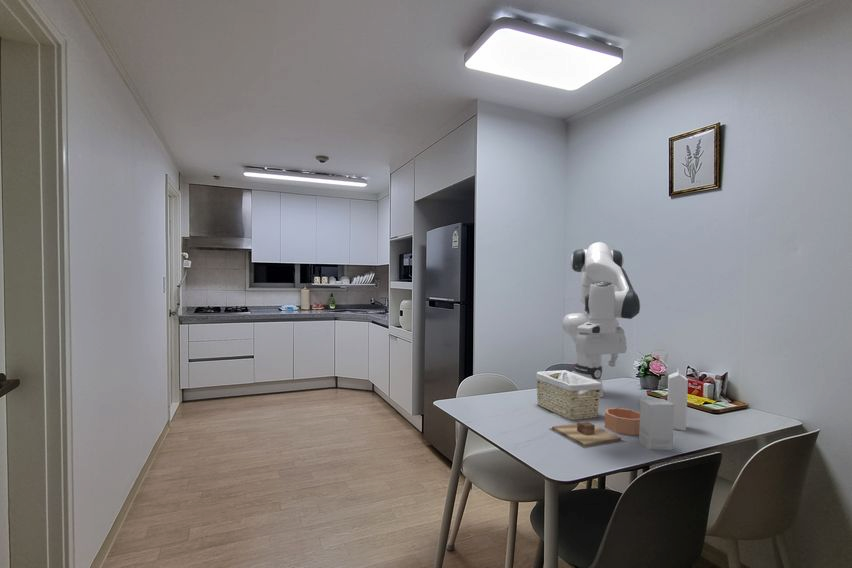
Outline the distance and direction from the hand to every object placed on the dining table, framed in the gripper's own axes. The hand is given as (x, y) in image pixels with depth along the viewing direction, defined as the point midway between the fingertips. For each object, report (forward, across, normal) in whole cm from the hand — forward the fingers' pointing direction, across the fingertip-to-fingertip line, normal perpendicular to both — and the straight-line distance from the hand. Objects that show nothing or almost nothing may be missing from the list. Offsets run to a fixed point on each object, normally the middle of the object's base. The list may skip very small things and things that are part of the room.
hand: (601, 367), depth 146 cm
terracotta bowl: (+24, -14, -4) cm, 29 cm away
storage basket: (+24, -8, -28) cm, 37 cm away
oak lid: (+24, +5, -3) cm, 25 cm away
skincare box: (+25, -11, +12) cm, 30 cm away
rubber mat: (+24, +5, -3) cm, 25 cm away
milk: (+25, -36, +1) cm, 44 cm away
